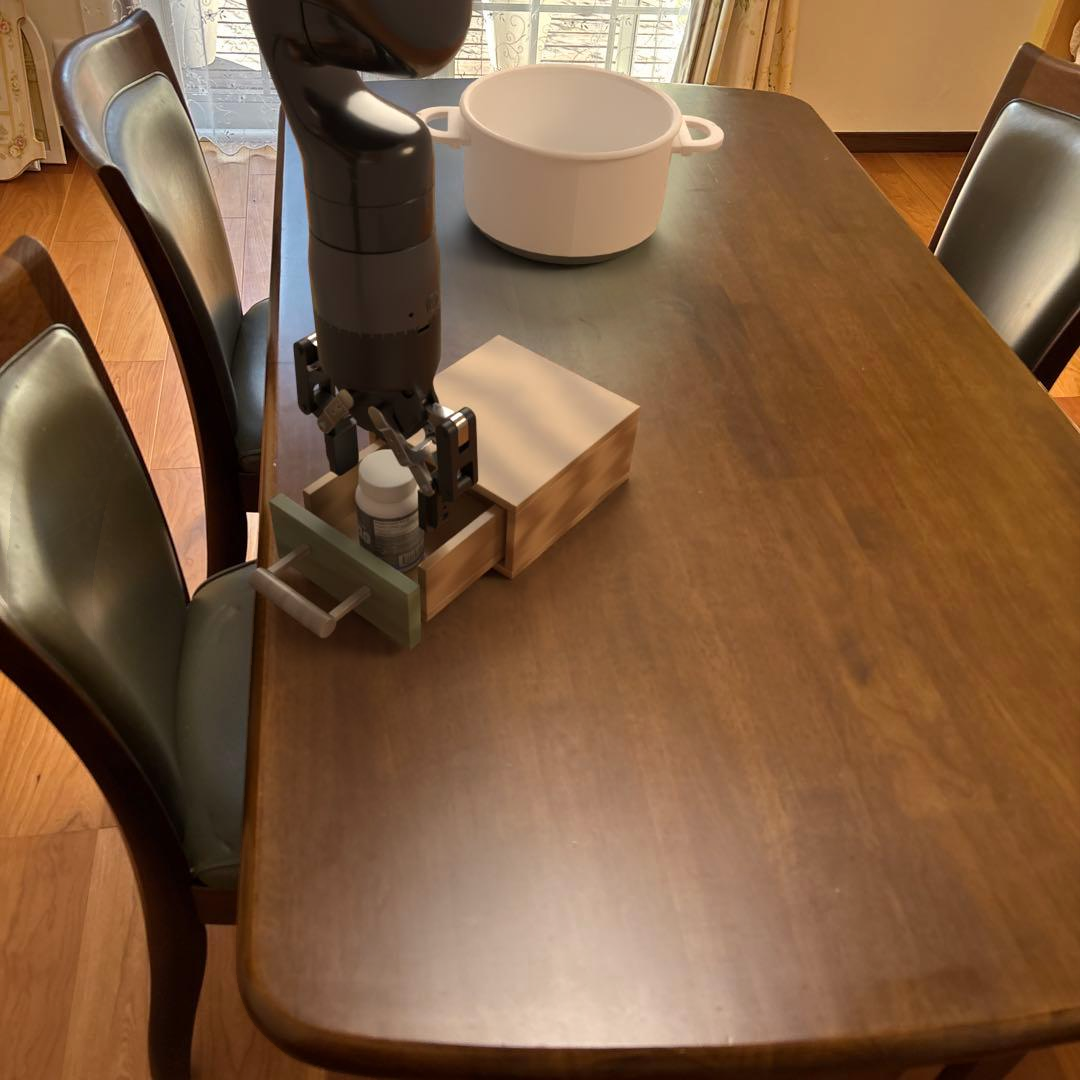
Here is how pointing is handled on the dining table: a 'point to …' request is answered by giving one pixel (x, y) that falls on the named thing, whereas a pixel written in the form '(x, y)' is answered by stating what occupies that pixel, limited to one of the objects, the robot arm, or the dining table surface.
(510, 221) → the pot
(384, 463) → the pill bottle
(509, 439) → the cabinet
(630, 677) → the dining table surface
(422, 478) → the robot arm
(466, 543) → the drawer
